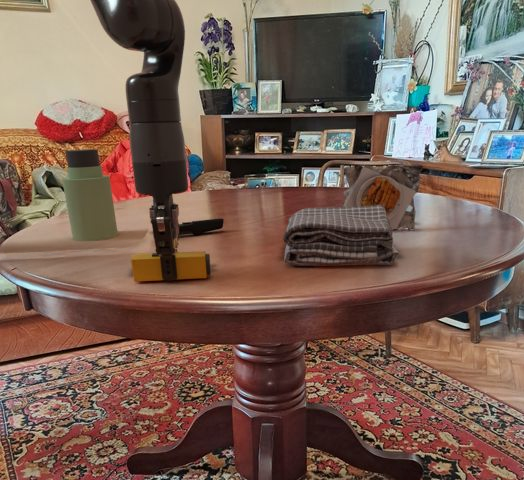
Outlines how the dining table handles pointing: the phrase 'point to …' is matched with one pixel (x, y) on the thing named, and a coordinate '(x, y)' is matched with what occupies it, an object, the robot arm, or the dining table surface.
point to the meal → (385, 190)
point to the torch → (186, 263)
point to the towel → (339, 237)
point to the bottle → (88, 197)
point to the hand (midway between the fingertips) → (171, 275)
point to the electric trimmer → (200, 226)
